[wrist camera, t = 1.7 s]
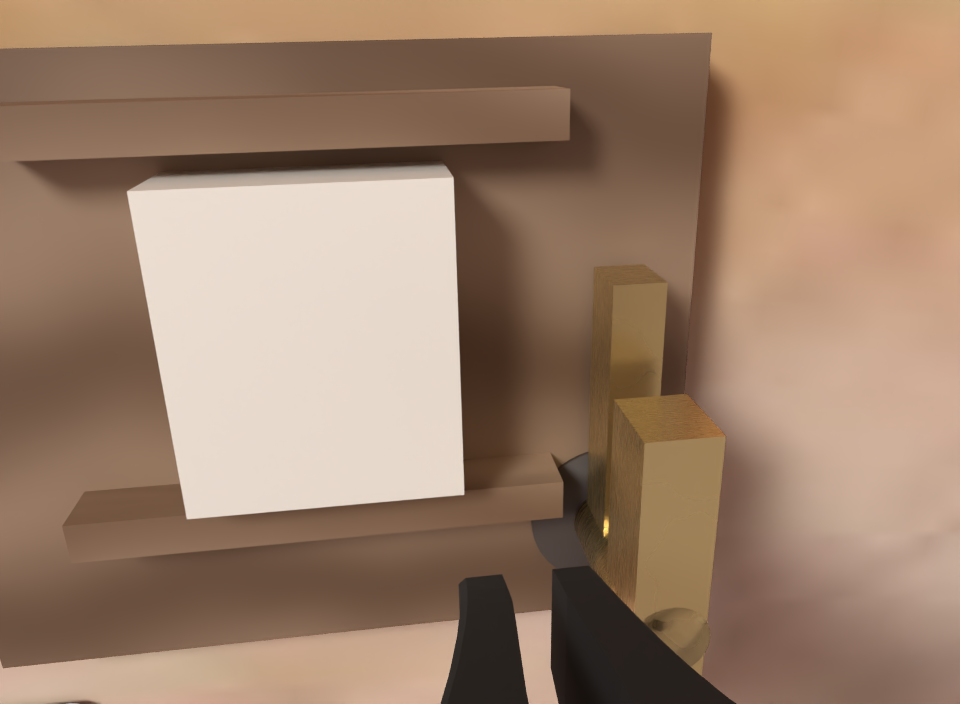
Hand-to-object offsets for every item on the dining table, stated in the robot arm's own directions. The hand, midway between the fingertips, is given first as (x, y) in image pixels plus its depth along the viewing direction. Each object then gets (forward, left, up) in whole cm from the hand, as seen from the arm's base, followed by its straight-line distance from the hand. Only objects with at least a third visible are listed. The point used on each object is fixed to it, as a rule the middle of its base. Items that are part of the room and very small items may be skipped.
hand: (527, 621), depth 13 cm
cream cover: (+3, +4, -7) cm, 9 cm away
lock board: (+2, +4, -9) cm, 10 cm away
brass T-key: (-2, -4, -7) cm, 8 cm away
